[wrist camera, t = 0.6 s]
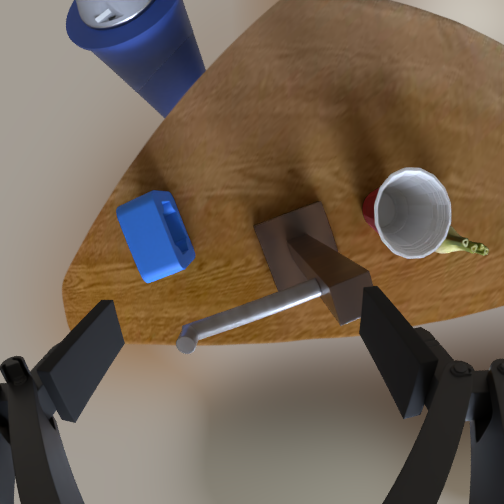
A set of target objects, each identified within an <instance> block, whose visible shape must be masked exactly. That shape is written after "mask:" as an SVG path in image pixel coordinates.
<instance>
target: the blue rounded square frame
mask: <svg viewBox="0 0 504 504" xmlns="http://www.w3.org/2000/svg"><path fill="white" fill-rule="evenodd" d="M116 213H117V218H118V220H119V223H120V226H121V228H122V231H123V233H124V236H125V239H126V241H127V244H128V246H129V249H130V251H131V253H132V256H133V258H134V261H135V263H136V265H137V268H138V270H139V272H140V275H141V277H142V278H143V280H144V281H145V282H146V283H150V282H153V281H156V280H158V279H161V278H163V277H166V276H168V275H171V274H174V273H176V272H179V271H181V270H184V269H185V268H186V267H187V266H188V265H189V264H190V263H191V262H192V261H193V259H194V258H195V252H194V249H193V246H192V244H191V241H190V239H189V236H188V234H187V231H186V229H185V226H184V224H183V221H182V219H181V216H180V214H179V211H178V209H177V206H176V203H175V201H174V198H173V196H172V195H171V193H170V192H168V191H157V190H153V191H150V192H148V193H146V194H144V195H142V196H140V197H137V198H135V199H133V200H131V201H129V202H127V203H125V204H123V205H121V206H119V207H117V210H116Z"/></svg>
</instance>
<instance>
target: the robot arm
mask: <svg viewBox="0 0 504 504" xmlns="http://www.w3.org/2000/svg"><path fill="white" fill-rule="evenodd" d="M154 1H155V0H76V3H77V7H78V11H79V15H80V17H81V19H82V21H83V22H84V23H85V24H86V25H87V26H88V27H90V28H92V29H94V30H101V31H103V30H111V29H115V28H119V27H121V26H124V25H126V24H128V23H130V22H132V21H133V20H135V19H137V18H138V17H139V16H141V15H142V14H143V13H144V12H146V11H147V10H148V9H149V8H150V7H151V5H152V4H153V3H154ZM359 334H360V336H361V338H362V339H363V341H364V343H365V345H366V347H367V349H368V350H369V352H370V354H371V356H372V358H373V360H374V362H375V364H376V366H377V368H378V370H379V371H380V373H381V375H382V377H383V379H384V381H385V383H386V385H387V387H388V389H389V391H390V393H391V395H392V397H393V399H394V401H395V403H396V405H397V407H398V409H399V411H400V413H401V415H402V417H403V419H405V418H409V417H413V416H417V415H420V414H421V412H422V409H423V406H424V404H425V406H426V407H427V409H428V413H427V416H426V418H425V421H424V423H423V425H422V428H421V430H420V432H419V435H418V437H417V439H416V441H415V443H414V446H413V448H412V450H411V452H410V454H409V456H408V458H407V460H406V462H405V464H404V466H403V468H402V470H401V472H400V474H399V476H398V477H397V479H396V481H395V483H394V485H393V487H392V488H391V490H390V492H389V493H388V495H387V497H386V498H385V500H384V502H383V503H382V504H437V502H438V500H439V497H440V495H441V492H442V490H443V487H444V485H445V482H446V480H447V477H448V474H449V472H450V469H451V466H452V463H453V460H454V457H455V454H456V451H457V448H458V444H459V441H460V437H461V434H462V430H463V427H464V423H465V421H470V434H471V481H470V499H469V504H504V359H497V360H495V361H493V362H492V364H491V366H490V369H489V370H485V371H474V369H473V367H472V366H471V365H469V364H468V363H466V362H463V361H454V360H453V359H452V357H451V356H450V355H449V354H448V353H447V352H446V350H445V349H444V348H443V347H442V346H441V345H440V343H439V342H438V341H437V340H435V338H434V337H433V335H432V334H431V333H430V332H429V331H427V330H425V329H423V328H422V327H419V328H413V327H412V326H411V325H410V324H409V322H408V321H407V320H406V319H405V318H404V316H403V315H402V314H401V313H400V312H399V311H398V309H397V308H396V307H395V306H394V305H393V304H392V302H391V301H390V300H389V299H388V298H387V297H386V295H385V294H384V293H383V292H382V291H381V290H380V289H379V288H378V286H371V287H363V299H362V311H361V322H360V331H359ZM124 344H125V343H124V339H123V336H122V332H121V329H120V325H119V321H118V318H117V314H116V310H115V306H114V302H113V300H101V301H100V302H99V303H98V304H97V305H96V306H95V307H94V308H93V309H92V310H91V311H90V312H89V313H88V314H87V315H86V316H85V317H84V318H83V319H82V320H81V321H80V322H79V323H78V325H77V326H76V327H75V328H74V329H73V330H72V331H71V332H70V333H69V334H68V335H67V336H66V337H65V338H64V339H63V341H61V342H60V343H58V344H57V345H55V346H54V347H52V349H50V350H49V352H48V353H47V354H46V355H45V356H44V357H43V359H41V360H40V361H39V362H38V364H37V365H36V366H35V367H34V368H33V369H32V370H31V371H29V369H28V367H27V365H26V363H25V360H24V358H23V357H21V356H14V357H11V358H8V359H7V360H5V361H4V362H3V363H2V364H1V365H0V370H1V373H2V375H3V376H4V378H5V380H6V382H7V383H0V504H14V484H15V478H16V483H17V488H18V493H19V498H20V502H21V504H84V501H83V499H82V497H81V494H80V492H79V489H78V487H77V484H76V482H75V479H74V476H73V474H72V471H71V468H70V465H69V463H68V459H67V456H66V453H65V450H64V447H63V444H62V440H61V437H60V434H59V430H58V427H57V423H56V420H55V418H54V417H53V414H54V413H55V411H56V410H57V412H58V414H59V415H60V417H61V419H62V420H65V421H70V422H74V423H76V421H77V419H78V417H79V416H80V414H81V412H82V411H83V409H84V407H85V406H86V404H87V402H88V401H89V399H90V397H91V396H92V394H93V392H94V391H95V389H96V388H97V386H98V384H99V383H100V381H101V380H102V378H103V376H104V375H105V373H106V372H107V370H108V368H109V367H110V365H111V364H112V362H113V361H114V359H115V357H116V356H117V354H118V353H119V351H120V350H121V348H122V347H123V345H124Z"/></svg>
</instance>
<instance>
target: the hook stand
mask: <svg viewBox="0 0 504 504" xmlns="http://www.w3.org/2000/svg"><path fill="white" fill-rule="evenodd" d="M254 229H255V232H256V234H257V237H258V239H259V242H260V245H261V247H262V250H263V252H264V255H265V258H266V260H267V263H268V266H269V268H270V271H271V273H272V276H273V279H274V281H275V284H276V287H277V289H278V292H276V293H273V294H271V295H268V296H265V297H263V298H260V299H257V300H254V301H252V302H249V303H246V304H243V305H241V306H238V307H235V308H232V309H229V310H227V311H224V312H221V313H218V314H215V315H212V316H210V317H207V318H204V319H201V320H198V321H195V322H192V323H189V324H186V325H183V326H182V331H181V333H180V335H179V337H178V339H177V341H176V346H177V348H178V350H179V351H180V352H182V353H185V354H189V353H192V352H193V351H194V350H195V348H196V345H197V342H198V340H200V339H203V338H206V337H209V336H212V335H215V334H218V333H221V332H224V331H227V330H230V329H233V328H236V327H238V326H241V325H244V324H247V323H250V322H253V321H255V320H258V319H261V318H264V317H267V316H269V315H272V314H275V313H277V312H280V311H283V310H285V309H288V308H291V307H293V306H296V305H299V304H301V303H304V302H306V301H309V300H311V299H314V298H317V297H319V296H320V297H321V299H322V300H323V302H324V303H325V304H326V306H327V307H328V309H329V310H330V311H331V313H332V314H333V316H334V317H335V318H336V320H337V321H338V322H339V324H340V325H341V326H342V325H344V324H347V323H349V322H351V321H354V320H356V319H358V318H361V311H362V299H363V287H371V286H373V284H372V280H371V276H370V273H369V271H368V270H366V269H365V268H363V267H361V266H360V265H358V264H357V263H355V262H353V261H352V260H350V259H348V258H347V257H345V256H343V255H342V254H340V253H339V252H338V249H337V246H336V243H335V240H334V237H333V234H332V231H331V228H330V225H329V222H328V219H327V216H326V214H325V211H324V208H323V205H322V202H321V201H317V202H315V203H312V204H309V205H306V206H304V207H301V208H298V209H296V210H293V211H290V212H288V213H285V214H282V215H280V216H277V217H274V218H272V219H269V220H267V221H264V222H261V223H259V224H256V225H254Z"/></svg>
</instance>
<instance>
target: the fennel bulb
mask: <svg viewBox="0 0 504 504" xmlns="http://www.w3.org/2000/svg"><path fill="white" fill-rule="evenodd" d="M458 250H465V251H467V252H470V253H478V254H481V255H487V254H488V253H489V249H488V248H487V247H486V246H484V245H483V244H482V243H476V242H472V241H468V238H463V237H461V236H460V235H459V234H458V233H457V232H456V231H455V230H454V229H453V227H451V226H450V227H449V230H448V233H447V236H446V238H445V240H444V241H443V242H442V244H441V245H440V246H439V247H438V249H437V250H436V251H435V252H438V253H449V252H453V251H458Z"/></svg>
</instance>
